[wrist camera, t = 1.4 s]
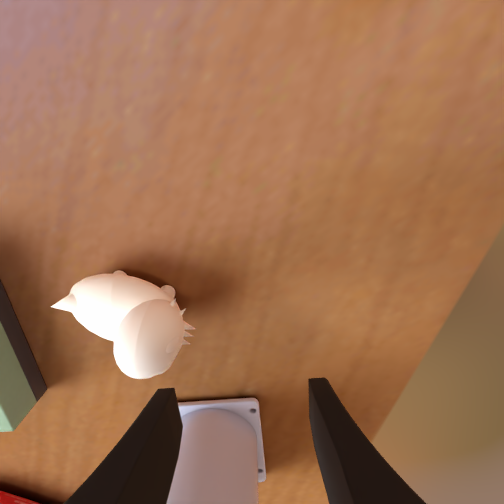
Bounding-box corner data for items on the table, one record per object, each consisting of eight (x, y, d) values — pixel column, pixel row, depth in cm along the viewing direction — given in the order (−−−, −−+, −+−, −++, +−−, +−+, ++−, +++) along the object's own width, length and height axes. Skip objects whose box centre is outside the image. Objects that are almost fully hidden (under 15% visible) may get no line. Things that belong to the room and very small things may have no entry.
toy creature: (192, 338, 22) (170, 412, 16) (79, 306, 21) (13, 372, 15) (210, 284, 20) (194, 345, 14) (90, 247, 19) (20, 296, 13)
